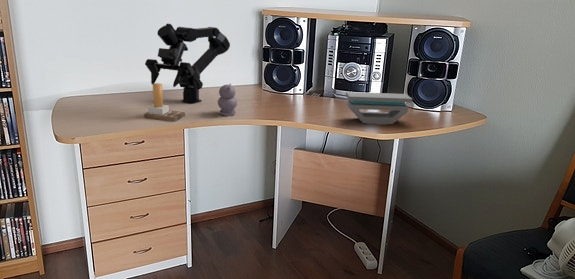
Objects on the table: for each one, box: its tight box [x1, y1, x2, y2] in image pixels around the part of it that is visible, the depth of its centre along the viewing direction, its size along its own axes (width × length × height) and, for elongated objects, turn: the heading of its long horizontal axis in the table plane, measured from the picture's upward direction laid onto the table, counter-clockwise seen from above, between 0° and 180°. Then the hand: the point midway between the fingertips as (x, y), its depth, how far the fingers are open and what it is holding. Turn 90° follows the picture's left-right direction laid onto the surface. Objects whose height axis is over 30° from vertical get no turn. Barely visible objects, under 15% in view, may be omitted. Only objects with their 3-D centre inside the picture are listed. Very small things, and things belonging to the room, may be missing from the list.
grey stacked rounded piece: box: [217, 83, 238, 117], centre depth 175 cm, size 8×8×12 cm
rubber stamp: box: [147, 82, 170, 115], centre depth 167 cm, size 5×6×11 cm
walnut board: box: [143, 109, 186, 122], centre depth 168 cm, size 8×13×2 cm, turn 77°
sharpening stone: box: [345, 91, 413, 125], centre depth 176 cm, size 25×8×11 cm, turn 94°
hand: (162, 85), depth 169 cm, fingers open, 9 cm apart
